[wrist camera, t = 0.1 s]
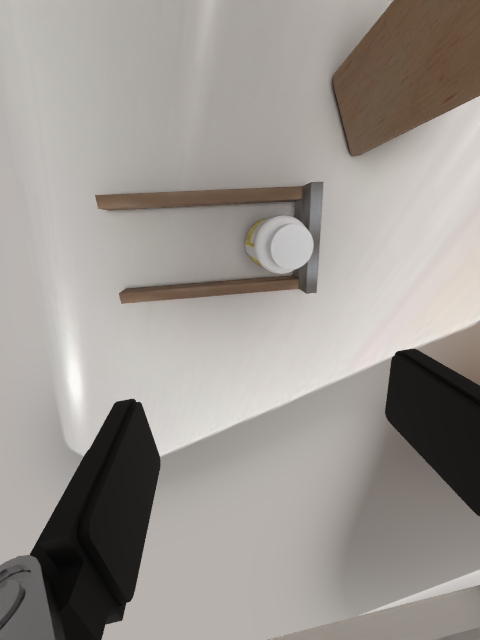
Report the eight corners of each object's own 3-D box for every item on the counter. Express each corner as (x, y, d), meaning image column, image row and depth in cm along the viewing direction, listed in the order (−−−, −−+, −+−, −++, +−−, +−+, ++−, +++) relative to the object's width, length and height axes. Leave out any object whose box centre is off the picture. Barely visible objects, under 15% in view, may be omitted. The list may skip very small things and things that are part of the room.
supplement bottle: (289, 258, 38) (325, 271, 26) (249, 268, 38) (267, 286, 26) (282, 213, 36) (319, 206, 24) (239, 224, 36) (255, 222, 24)
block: (348, 160, 34) (514, 79, 16) (327, 77, 31) (509, -156, 12) (413, 125, 34) (663, -2, 15) (399, 36, 30) (707, -273, 12)
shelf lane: (104, 198, 32) (83, 191, 27) (305, 189, 35) (323, 181, 29) (128, 298, 37) (113, 310, 32) (301, 283, 40) (316, 292, 34)
